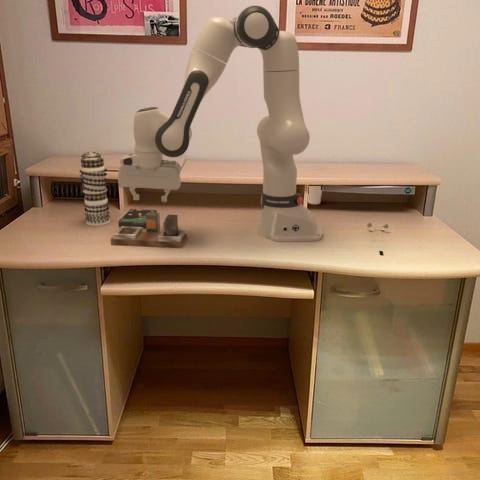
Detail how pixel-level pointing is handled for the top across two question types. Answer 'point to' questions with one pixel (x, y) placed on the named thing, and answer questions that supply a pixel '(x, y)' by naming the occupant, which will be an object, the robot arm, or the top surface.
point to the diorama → (378, 230)
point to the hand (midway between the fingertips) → (150, 200)
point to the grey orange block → (152, 222)
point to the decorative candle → (94, 188)
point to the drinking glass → (314, 191)
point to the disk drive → (135, 218)
